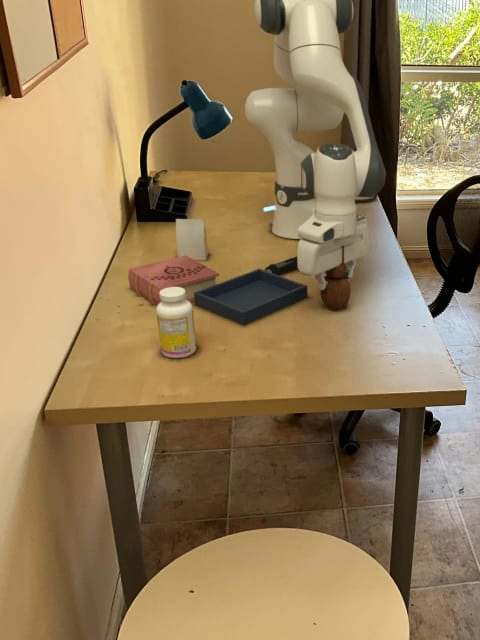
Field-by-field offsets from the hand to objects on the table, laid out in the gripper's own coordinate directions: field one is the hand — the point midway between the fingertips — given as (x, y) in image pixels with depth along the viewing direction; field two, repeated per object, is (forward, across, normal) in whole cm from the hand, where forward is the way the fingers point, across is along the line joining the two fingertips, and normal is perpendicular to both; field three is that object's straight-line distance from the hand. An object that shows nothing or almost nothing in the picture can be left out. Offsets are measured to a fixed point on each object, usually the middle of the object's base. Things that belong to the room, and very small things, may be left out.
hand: (335, 283), depth 166 cm
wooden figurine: (+6, 0, 0) cm, 6 cm away
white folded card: (+6, +1, -47) cm, 47 cm away
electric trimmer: (+6, -9, -23) cm, 26 cm away
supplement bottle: (+6, +36, -9) cm, 38 cm away
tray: (+6, +10, -16) cm, 20 cm away
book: (+6, +18, -33) cm, 38 cm away
